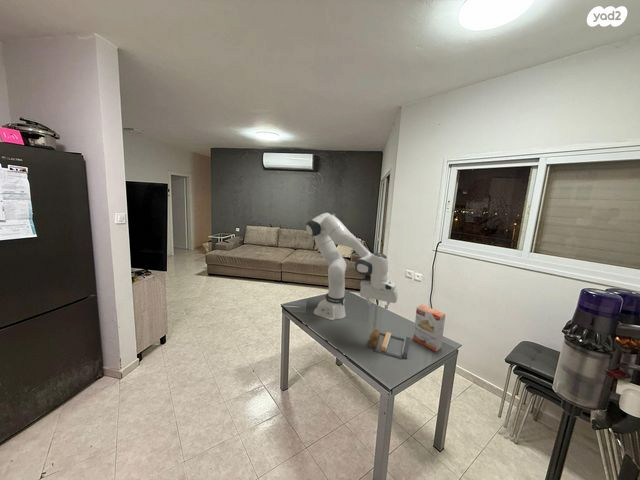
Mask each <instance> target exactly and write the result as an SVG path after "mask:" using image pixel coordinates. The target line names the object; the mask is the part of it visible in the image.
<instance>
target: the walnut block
mask: <svg viewBox="0 0 640 480" xmlns="http://www.w3.org/2000/svg"><path fill="white" fill-rule="evenodd" d="M380 333H381V330H380V329H376V328H372V330H371V332H370V335H369V345H368V346H369V347H371V348H373V349H377V348H378V345H379V342H380V337H381V335H380Z"/></svg>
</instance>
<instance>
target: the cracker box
mask: <svg viewBox="0 0 640 480" xmlns="http://www.w3.org/2000/svg"><path fill="white" fill-rule="evenodd" d="M445 320H446V313H443V312H441V311H438V310H436V309H433V308H431V307H430V306H428V305H424V304H421V305H418V306H416V311H415V320H414V329H413V330H414V331H413V341H415V342H417V343H419V344H420V345H422V346H425V347H426V348H427V349H430V350H431V351H433V352H438V351H439V350H441V349H442V344H443V336H444V328H445V323H446V321H445Z"/></svg>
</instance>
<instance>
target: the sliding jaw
mask: <svg viewBox="0 0 640 480" xmlns="http://www.w3.org/2000/svg"><path fill="white" fill-rule="evenodd" d="M385 334H386V335H385V336H384V338H383V341H382V344H381V351H384V352H387V350H388V347H389V344H390V341H391V339H392V338H391V335H392V332H389V331H386V332H385Z"/></svg>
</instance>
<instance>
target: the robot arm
mask: <svg viewBox="0 0 640 480" xmlns="http://www.w3.org/2000/svg"><path fill="white" fill-rule="evenodd" d="M305 230H306V232H307V234H308V235H309V236H311V237H313V240H314V241H315V244H316V246H317V249H318V250H319V252H320V254H321V256H322V257H323V259H324V260H325V261H326V262H327V264H328V268H327V278H328V279H327V280H328V292H327V293H326V295H325V296H324V299H323V300H320V302H318V304H317V307H315V308H314V309H313V314H314V315H315V316H318V317H320V318H323V319H327V320H329V321H334V320H342V319H344V318H346V309H345V302H346V296H345V293H346V292H345V291H346V290H345V287H346V283H345V282H346V281H345V280H346V277H345V274H346V270H347V262H346V260H345V259H344V257H343V256H342V254H341V252H340V251H339V249H338V248H337V245H338V246H340V247H341V246H343V247H347V248H350V249H352V250H354V252H356V254H357V255H358V256H359V257H360V258H358V259H357V260H356V261H355V262H354V270H355V271H356V273H357V274H358V275H361V276H370V280H365V279H364V280H361V281H360V283H359V284H360V285H359V286H360V290H359V296H360V297H363V298H365V300H366V302H367V306H371V305H372V301H370V299H371V300H372V299H373V300H377V301H381V302H386V304H385V305H384V309H385V310H388V308H389V305H390V304H391V303H392V304H396V303H397V302H398V291H397V288H396V286H397V284H396V282H393V281H391V280H389V279H388V271H389V261H388V256H387V255H386V254H384V253H380V252H374V253H373V252H371V251H370V249H368V248H367V247H366V246H365V244H364V243H362V241H360V239H358V238H357V237H356V236H355V235H354V234H353V233H351V232H350V230H349V229H348V228H347V227H346V226H345V225H344V224H343V222H342V221H341V220H340V219H339V218H338V216H337V214H336V213H335V212H334V211H331V210H330V211H326V212H324V213H321V214H319V215H317V216H315V217H314V218H312V219H310V220H308V221H307V222H306V224H305Z"/></svg>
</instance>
